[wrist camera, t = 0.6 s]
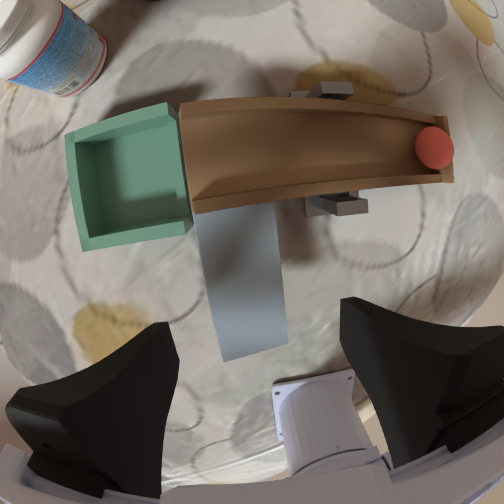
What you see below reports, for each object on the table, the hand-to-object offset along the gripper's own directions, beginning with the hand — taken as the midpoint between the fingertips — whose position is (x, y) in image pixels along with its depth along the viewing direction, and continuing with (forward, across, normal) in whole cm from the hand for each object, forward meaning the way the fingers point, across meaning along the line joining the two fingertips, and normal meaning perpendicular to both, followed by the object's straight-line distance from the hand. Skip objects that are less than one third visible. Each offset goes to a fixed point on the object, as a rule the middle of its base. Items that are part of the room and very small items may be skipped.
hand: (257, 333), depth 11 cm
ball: (+6, -14, -7) cm, 16 cm away
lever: (+7, -6, -3) cm, 10 cm away
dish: (+9, +7, -7) cm, 14 cm away
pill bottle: (+9, +12, -18) cm, 24 cm away
